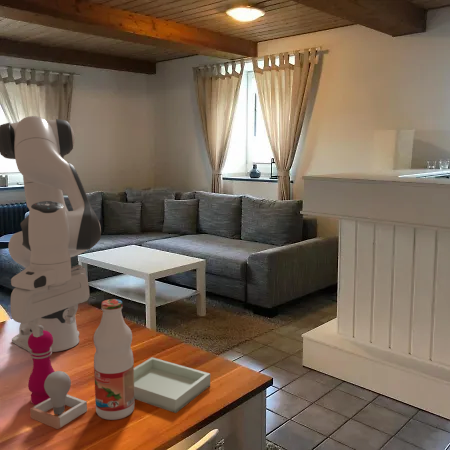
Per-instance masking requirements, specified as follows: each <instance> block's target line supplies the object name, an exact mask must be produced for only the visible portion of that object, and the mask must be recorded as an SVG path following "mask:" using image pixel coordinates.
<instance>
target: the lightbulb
mask: <svg viewBox="0 0 450 450" xmlns="http://www.w3.org/2000/svg"><path fill="white" fill-rule="evenodd" d="M54 371H55V370H54ZM71 386H72V380H71V378H70V375H69V374H67V373H66V372H65V371H62V370H57V371H55V372H53V373H51V374H49V375H48V377H47V378H46V380H45V383H44V388H45V391H46V393H47V394H48V395H49V397H50V399H51V402H52V406H53V408H52V410H53V414H54V415H55V416H60V415H61V414H63V413H65V412H66V410H65V408H66V405H65V402H66V395H67V394H68V393H69V391H70V389H71Z"/></svg>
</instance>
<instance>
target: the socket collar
mask: <svg viewBox="0 0 450 450" xmlns="http://www.w3.org/2000/svg"><path fill="white" fill-rule="evenodd" d="M65 406H67V407H70V408H69V409H68V410H65V411H64V413H62V414H61V415H55V414H54V415H53V414H51V413H49V412H48V411H50V410H51V409H53V406H52V402H51V399H50V398H48V399H47V400H45V401H43V402H41V403H39V404H37V405H33V406H32V407H30V409H29V411H30V412H29V413H30V418H31V419H32V420H35V421H36V422H40V423H41V424H44V425H46V426H49V427H52V428H54V429H55V430H59V429H61V428H62V427H63V426H66V425H67V424H69V423H70V422H72V421H73V420H75V419H76V418H78V417H80V416H81V415H83V414H85V413H86V412H87V411H88V403H87V400H84V399H81V398H78V397H75V396H73V395H70V394H68V393H67V395H66V402H65Z"/></svg>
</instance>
